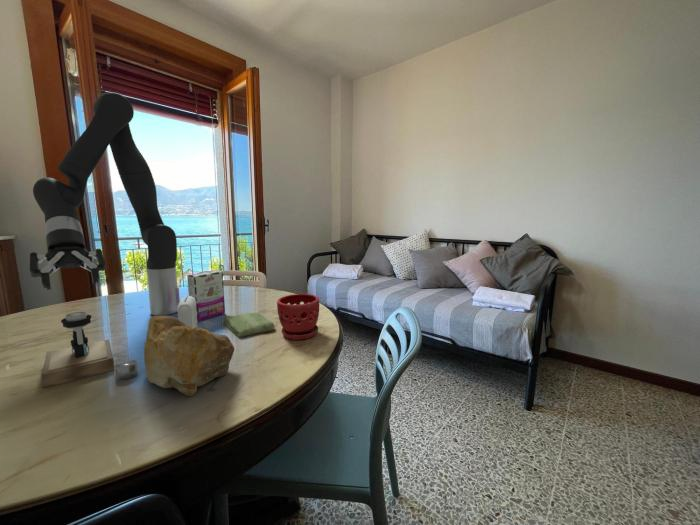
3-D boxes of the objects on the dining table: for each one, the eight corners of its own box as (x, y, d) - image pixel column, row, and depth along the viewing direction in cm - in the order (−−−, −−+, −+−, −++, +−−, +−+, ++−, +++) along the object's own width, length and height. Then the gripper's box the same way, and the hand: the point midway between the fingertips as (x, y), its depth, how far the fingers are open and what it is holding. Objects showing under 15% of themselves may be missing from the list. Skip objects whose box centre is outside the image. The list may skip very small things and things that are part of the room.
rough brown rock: (255, 386, 68) (257, 321, 67) (176, 416, 55) (177, 337, 54) (208, 356, 83) (209, 303, 82) (137, 375, 70) (137, 312, 69)
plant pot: (303, 324, 105) (303, 290, 103) (327, 335, 95) (327, 298, 94) (269, 333, 95) (269, 297, 94) (293, 346, 86) (292, 307, 84)
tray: (110, 349, 82) (108, 338, 81) (114, 369, 72) (113, 357, 71) (48, 363, 74) (46, 350, 73) (43, 388, 64) (41, 373, 63)
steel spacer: (136, 369, 72) (135, 358, 72) (138, 376, 69) (137, 364, 69) (115, 375, 69) (114, 363, 69) (117, 382, 66) (115, 370, 66)
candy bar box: (217, 311, 116) (215, 269, 113) (225, 313, 113) (223, 271, 111) (189, 319, 106) (186, 274, 104) (197, 322, 104) (194, 276, 101)
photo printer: (184, 330, 96) (181, 293, 94) (198, 329, 98) (196, 292, 96) (178, 343, 87) (175, 302, 85) (194, 341, 88) (191, 301, 86)
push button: (63, 352, 73) (58, 313, 71) (91, 345, 77) (87, 308, 75) (67, 361, 69) (62, 319, 67) (97, 353, 73) (92, 314, 71)
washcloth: (259, 316, 112) (258, 308, 112) (277, 331, 98) (276, 322, 98) (222, 323, 105) (221, 314, 104) (236, 340, 91) (235, 330, 90)
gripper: (24, 228, 74) (29, 281, 68) (98, 226, 84) (108, 273, 78) (29, 247, 79) (34, 298, 73) (99, 243, 89) (108, 288, 83)
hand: (72, 285), depth 75 cm, fingers open, 8 cm apart
